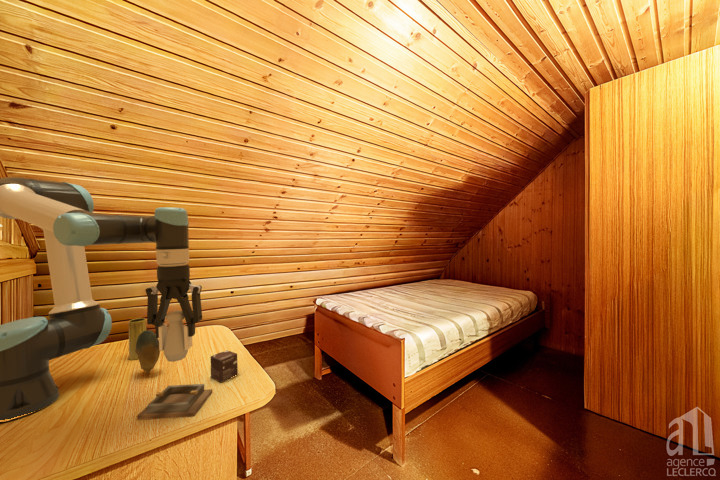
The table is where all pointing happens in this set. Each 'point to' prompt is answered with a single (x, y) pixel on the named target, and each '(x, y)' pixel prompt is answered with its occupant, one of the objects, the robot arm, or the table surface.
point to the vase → (135, 335)
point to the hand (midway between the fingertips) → (176, 348)
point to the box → (224, 366)
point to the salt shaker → (175, 337)
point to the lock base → (176, 402)
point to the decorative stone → (147, 350)
